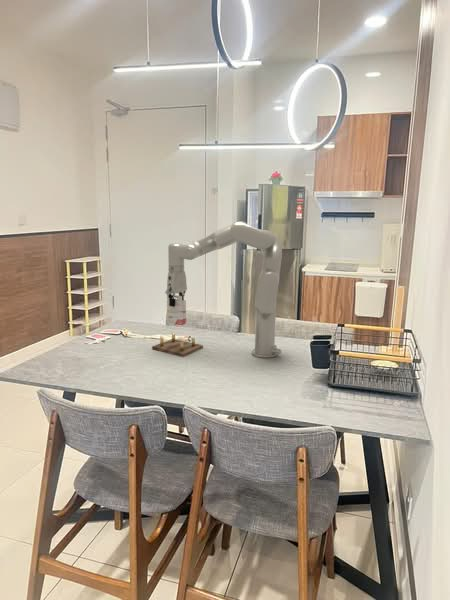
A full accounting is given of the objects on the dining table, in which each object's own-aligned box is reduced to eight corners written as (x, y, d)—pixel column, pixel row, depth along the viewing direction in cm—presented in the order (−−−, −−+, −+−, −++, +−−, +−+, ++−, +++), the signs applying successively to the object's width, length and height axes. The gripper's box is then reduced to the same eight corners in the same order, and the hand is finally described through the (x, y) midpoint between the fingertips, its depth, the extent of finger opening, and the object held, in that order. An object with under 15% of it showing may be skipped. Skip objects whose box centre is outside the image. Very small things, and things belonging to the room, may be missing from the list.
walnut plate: (203, 348, 216) (203, 345, 216) (183, 356, 203) (183, 353, 203) (172, 341, 227) (172, 338, 227) (152, 349, 214) (152, 346, 214)
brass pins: (195, 345, 215) (195, 338, 215) (182, 351, 207) (182, 343, 206) (173, 340, 223) (173, 333, 222) (159, 346, 215) (159, 338, 214)
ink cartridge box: (186, 323, 214) (186, 294, 211) (182, 325, 209) (182, 296, 206) (170, 321, 216) (170, 293, 213) (166, 323, 211) (166, 294, 208)
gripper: (170, 271, 198) (171, 309, 202) (193, 267, 212) (193, 303, 216) (158, 270, 202) (159, 307, 206) (181, 266, 216) (181, 301, 220)
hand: (176, 304), depth 211 cm, fingers closed on ink cartridge box, 5 cm apart
